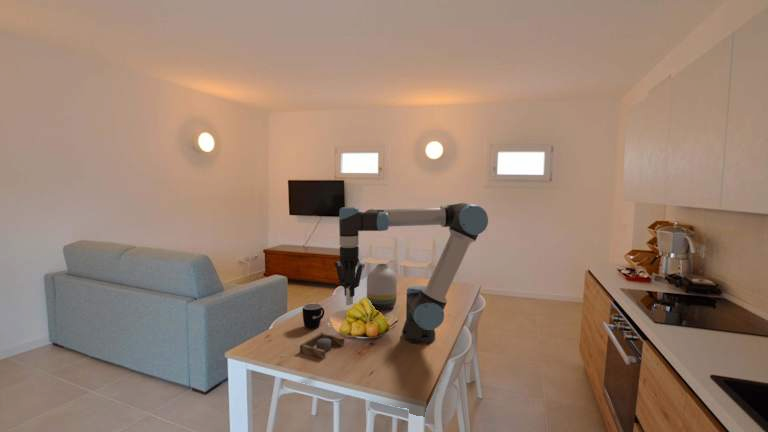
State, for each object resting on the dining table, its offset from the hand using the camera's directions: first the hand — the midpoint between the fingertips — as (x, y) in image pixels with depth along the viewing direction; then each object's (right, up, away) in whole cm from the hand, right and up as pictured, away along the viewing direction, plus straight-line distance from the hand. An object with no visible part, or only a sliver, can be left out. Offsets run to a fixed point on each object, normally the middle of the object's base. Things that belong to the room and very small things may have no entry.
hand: (349, 304), depth 144 cm
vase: (+12, -16, +59) cm, 62 cm away
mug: (-20, -18, +29) cm, 39 cm away
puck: (-11, -20, +5) cm, 23 cm away
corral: (-11, -20, +5) cm, 23 cm away
